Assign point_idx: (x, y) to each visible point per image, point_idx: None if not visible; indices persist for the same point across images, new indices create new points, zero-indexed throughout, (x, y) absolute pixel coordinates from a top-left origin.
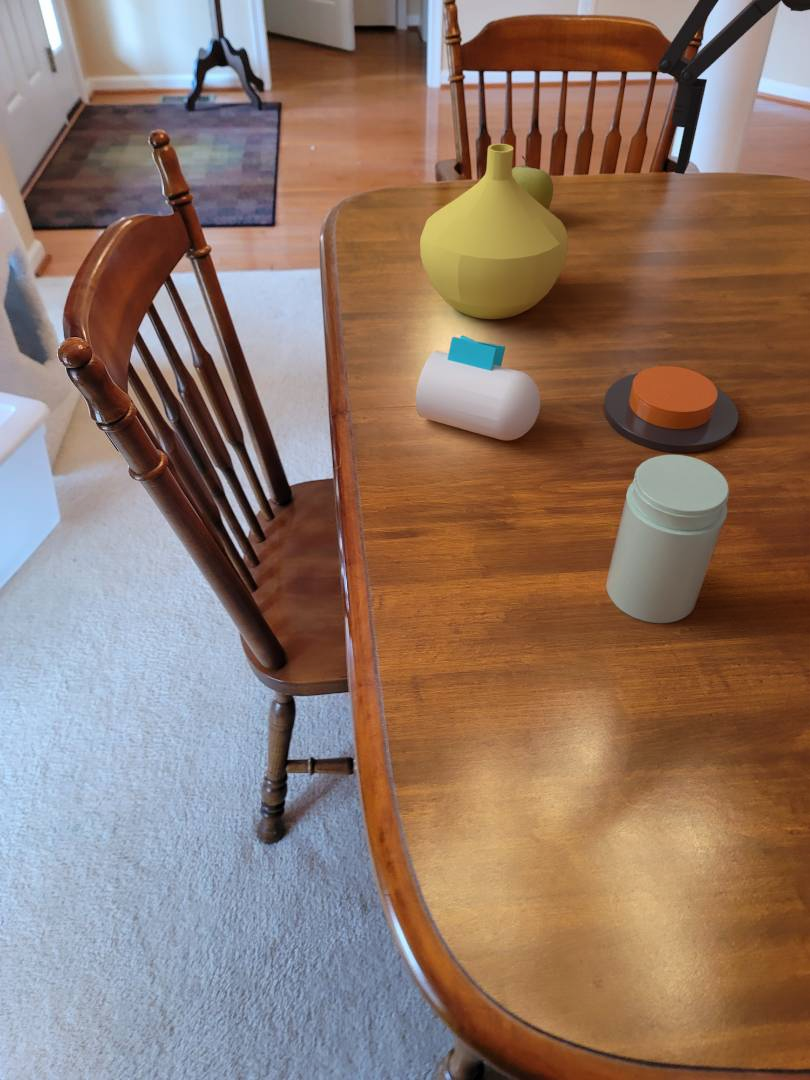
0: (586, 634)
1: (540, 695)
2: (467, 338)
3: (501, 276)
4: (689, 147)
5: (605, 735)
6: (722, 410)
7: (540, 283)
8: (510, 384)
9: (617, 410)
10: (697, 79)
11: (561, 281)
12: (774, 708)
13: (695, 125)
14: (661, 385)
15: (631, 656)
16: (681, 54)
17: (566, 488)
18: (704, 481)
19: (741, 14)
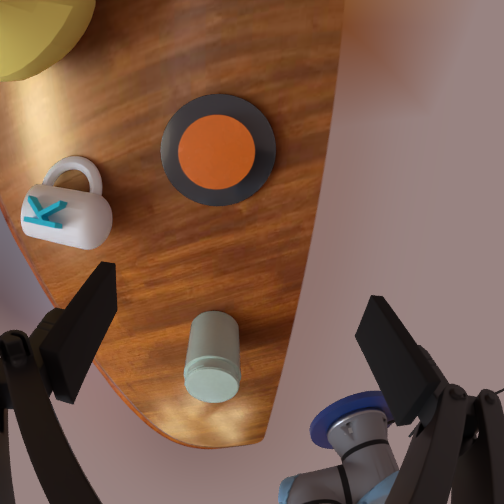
0: None
1: (176, 384)
2: (32, 207)
3: (33, 71)
4: (104, 335)
5: None
6: (262, 147)
7: (73, 41)
8: (80, 240)
9: (172, 168)
10: (41, 354)
11: None
12: (270, 373)
13: (92, 335)
14: (204, 150)
15: None
16: (6, 427)
17: (152, 261)
18: (224, 385)
19: None
